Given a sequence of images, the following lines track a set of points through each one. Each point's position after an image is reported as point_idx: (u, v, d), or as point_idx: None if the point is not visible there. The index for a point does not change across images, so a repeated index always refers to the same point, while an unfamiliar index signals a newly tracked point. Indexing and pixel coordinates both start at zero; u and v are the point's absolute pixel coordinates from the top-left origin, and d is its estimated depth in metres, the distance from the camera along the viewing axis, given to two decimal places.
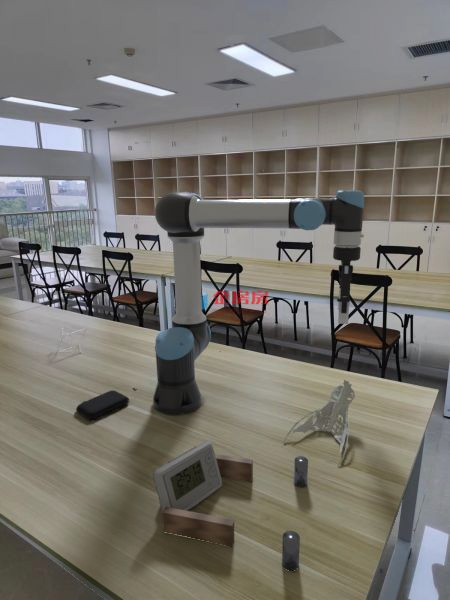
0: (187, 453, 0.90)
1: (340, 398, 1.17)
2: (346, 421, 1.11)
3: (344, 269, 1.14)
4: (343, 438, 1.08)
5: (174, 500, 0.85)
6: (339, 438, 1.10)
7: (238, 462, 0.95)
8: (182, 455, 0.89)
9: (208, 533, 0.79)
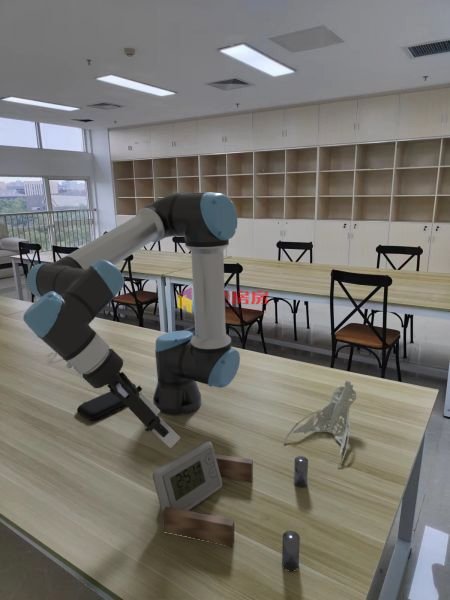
0: (187, 454, 0.89)
1: (341, 399, 1.16)
2: (347, 422, 1.11)
3: None
4: (344, 439, 1.07)
5: (174, 501, 0.84)
6: (340, 439, 1.10)
7: (238, 462, 0.95)
8: (182, 455, 0.89)
9: (208, 533, 0.79)
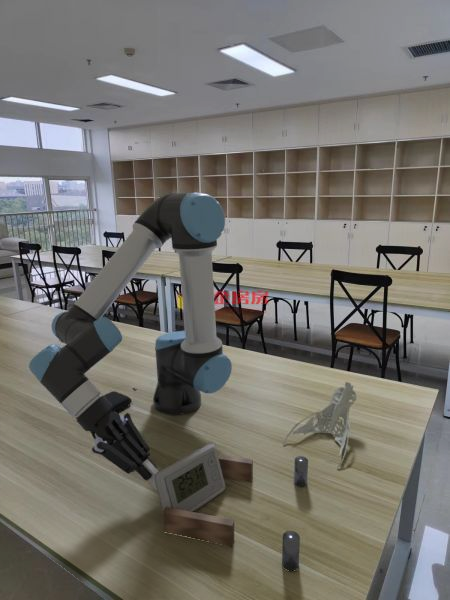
0: (190, 456, 0.89)
1: (341, 400, 1.16)
2: (347, 423, 1.10)
3: None
4: (343, 440, 1.07)
5: (176, 503, 0.84)
6: (339, 440, 1.09)
7: (238, 462, 0.95)
8: (184, 457, 0.88)
9: (208, 533, 0.79)
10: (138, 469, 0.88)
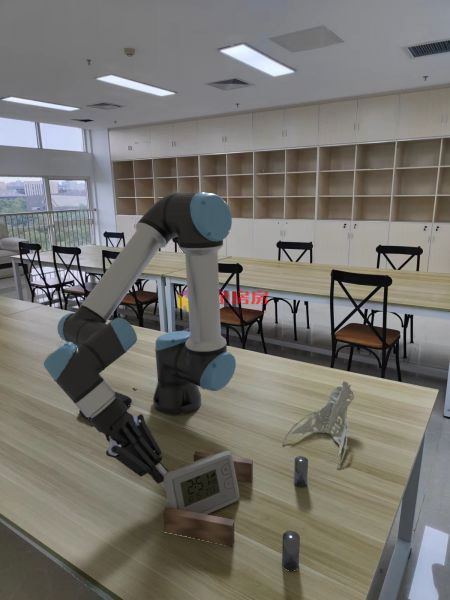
0: (202, 460, 0.87)
1: (339, 399, 1.16)
2: (345, 422, 1.11)
3: None
4: (342, 440, 1.07)
5: (182, 506, 0.83)
6: (338, 440, 1.09)
7: (238, 462, 0.95)
8: (197, 461, 0.87)
9: (208, 533, 0.79)
10: (151, 472, 0.87)
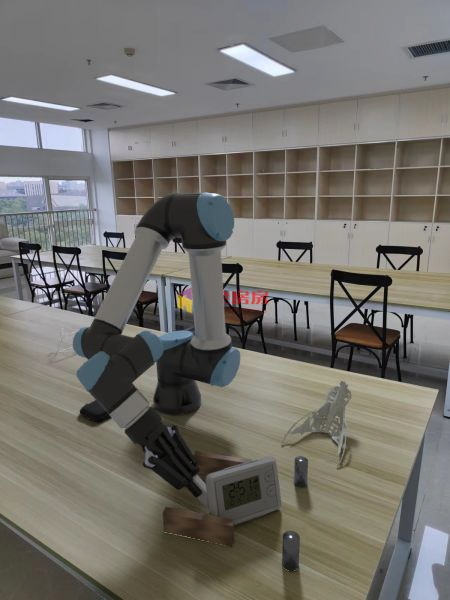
0: (246, 465, 0.85)
1: (337, 399, 1.16)
2: (343, 422, 1.11)
3: None
4: (341, 439, 1.07)
5: (223, 510, 0.81)
6: (337, 439, 1.10)
7: (238, 462, 0.95)
8: (240, 465, 0.85)
9: (208, 533, 0.79)
10: (188, 485, 0.84)
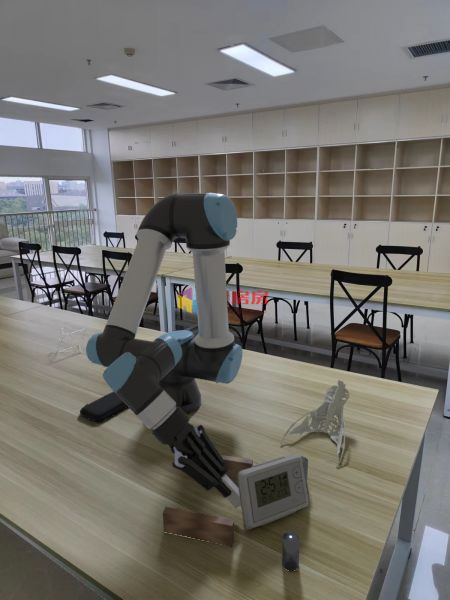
0: (274, 461, 0.86)
1: (335, 398, 1.17)
2: (342, 421, 1.11)
3: None
4: (340, 438, 1.08)
5: (256, 507, 0.81)
6: (335, 438, 1.10)
7: (238, 462, 0.95)
8: (269, 462, 0.85)
9: (208, 533, 0.79)
10: (217, 485, 0.83)
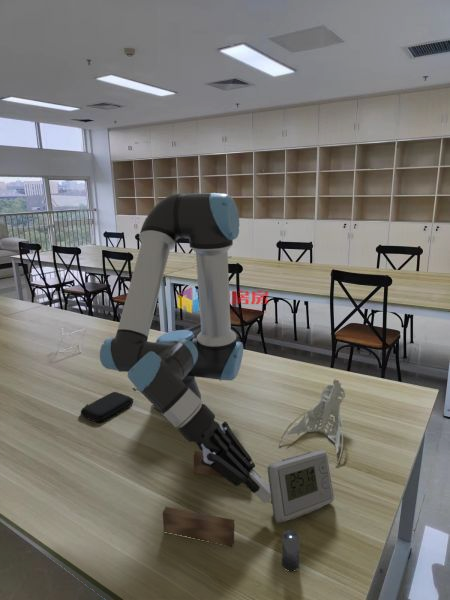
0: (302, 456, 0.87)
1: (331, 397, 1.17)
2: (339, 420, 1.12)
3: None
4: (337, 437, 1.08)
5: (286, 500, 0.81)
6: (333, 438, 1.10)
7: None
8: (297, 456, 0.86)
9: (208, 533, 0.79)
10: (246, 481, 0.83)
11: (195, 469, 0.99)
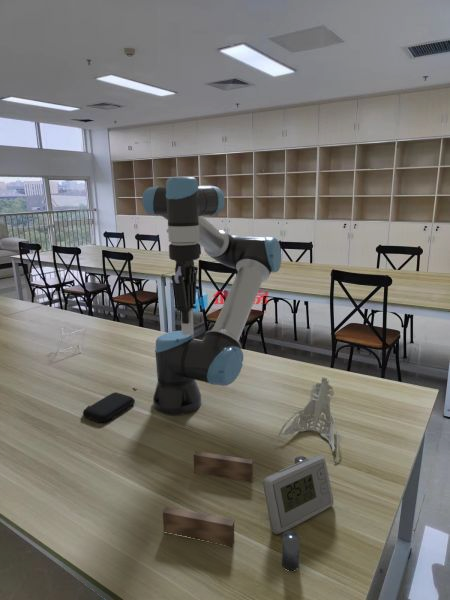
0: (299, 465, 0.85)
1: (321, 396, 1.18)
2: (331, 418, 1.13)
3: None
4: (331, 435, 1.09)
5: (283, 512, 0.81)
6: (326, 435, 1.11)
7: (238, 462, 0.95)
8: (293, 466, 0.85)
9: (208, 533, 0.79)
10: (184, 312, 1.04)
11: (195, 469, 0.99)
